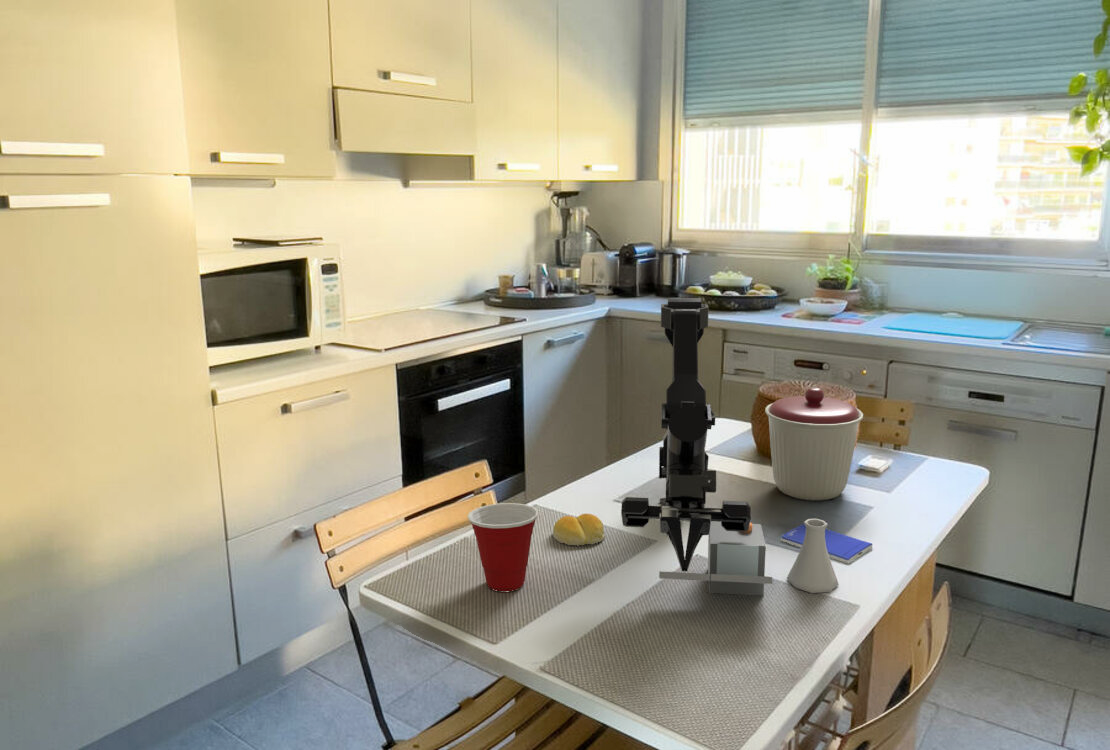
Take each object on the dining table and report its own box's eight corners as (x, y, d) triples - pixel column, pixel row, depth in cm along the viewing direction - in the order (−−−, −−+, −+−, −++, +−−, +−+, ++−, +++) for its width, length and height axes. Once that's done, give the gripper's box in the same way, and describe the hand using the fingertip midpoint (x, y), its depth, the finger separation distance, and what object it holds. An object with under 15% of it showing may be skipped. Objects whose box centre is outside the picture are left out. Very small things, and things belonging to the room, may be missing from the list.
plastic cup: (534, 564, 138) (533, 495, 135) (545, 596, 128) (543, 522, 125) (468, 571, 136) (465, 501, 133) (473, 603, 126) (470, 528, 123)
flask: (811, 598, 126) (815, 536, 123) (778, 579, 132) (780, 519, 130) (847, 587, 129) (851, 526, 126) (812, 568, 135) (816, 509, 133)
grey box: (707, 568, 136) (709, 516, 133) (758, 571, 134) (761, 518, 132) (709, 594, 127) (710, 539, 125) (763, 597, 126) (766, 541, 124)
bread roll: (549, 531, 152) (549, 510, 151) (598, 526, 153) (598, 506, 152) (557, 550, 144) (557, 528, 143) (609, 545, 145) (609, 524, 144)
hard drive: (781, 535, 145) (848, 557, 136) (806, 521, 150) (872, 542, 142) (780, 543, 145) (848, 566, 137) (805, 529, 151) (872, 551, 142)
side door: (660, 572, 127) (659, 571, 119) (766, 577, 125) (772, 576, 117) (660, 578, 127) (659, 577, 119) (766, 584, 125) (772, 583, 117)
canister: (743, 491, 168) (747, 388, 163) (794, 469, 180) (799, 372, 175) (826, 517, 155) (832, 405, 150) (875, 491, 167) (882, 387, 162)
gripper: (621, 446, 124) (616, 549, 116) (752, 450, 121) (755, 556, 114) (625, 476, 134) (620, 573, 126) (746, 480, 131) (749, 580, 123)
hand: (684, 570), depth 122 cm, fingers closed
